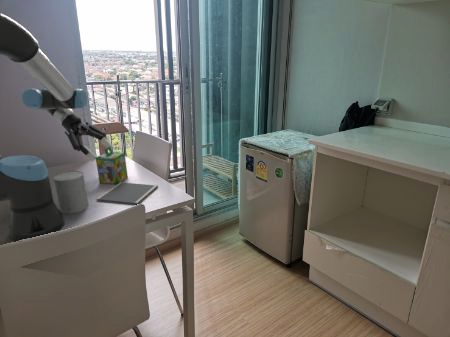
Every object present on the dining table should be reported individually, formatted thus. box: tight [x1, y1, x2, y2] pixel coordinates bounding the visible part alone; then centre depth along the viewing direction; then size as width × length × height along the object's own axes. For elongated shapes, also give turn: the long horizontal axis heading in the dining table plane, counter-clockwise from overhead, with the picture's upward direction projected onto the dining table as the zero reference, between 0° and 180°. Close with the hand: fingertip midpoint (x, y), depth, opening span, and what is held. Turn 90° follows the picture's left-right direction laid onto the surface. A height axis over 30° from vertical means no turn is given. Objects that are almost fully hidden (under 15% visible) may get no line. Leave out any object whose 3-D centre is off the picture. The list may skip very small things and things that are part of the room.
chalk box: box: [95, 146, 128, 185], centre depth 140 cm, size 9×9×15 cm
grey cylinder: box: [53, 170, 90, 215], centre depth 115 cm, size 10×10×12 cm
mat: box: [95, 181, 159, 206], centre depth 128 cm, size 17×17×1 cm
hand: (104, 154), depth 141 cm, fingers open, 13 cm apart
